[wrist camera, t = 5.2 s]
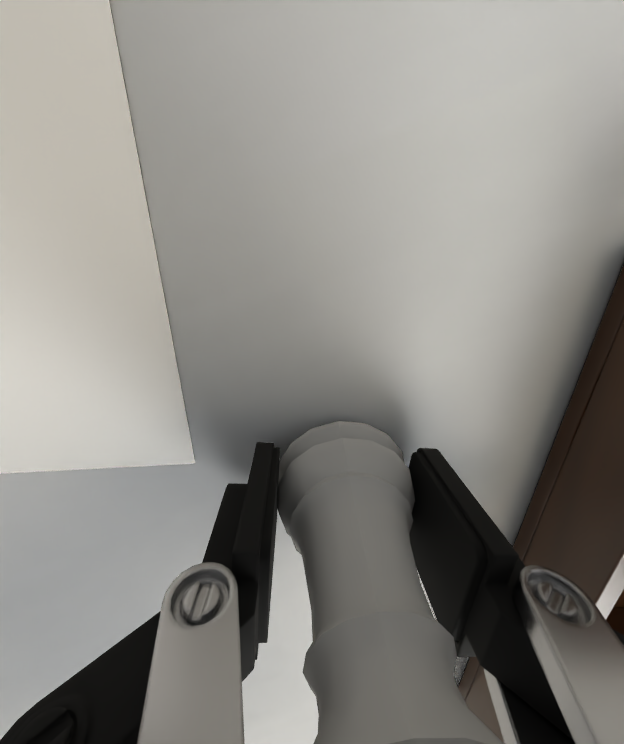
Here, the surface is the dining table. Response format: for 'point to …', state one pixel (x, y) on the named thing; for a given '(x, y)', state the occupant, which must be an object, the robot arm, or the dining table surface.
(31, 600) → the dining table surface
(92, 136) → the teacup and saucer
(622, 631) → the tray
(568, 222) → the dining table surface
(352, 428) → the rook chess piece
